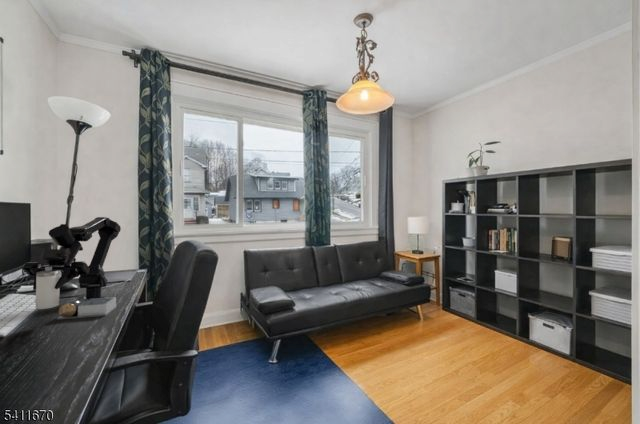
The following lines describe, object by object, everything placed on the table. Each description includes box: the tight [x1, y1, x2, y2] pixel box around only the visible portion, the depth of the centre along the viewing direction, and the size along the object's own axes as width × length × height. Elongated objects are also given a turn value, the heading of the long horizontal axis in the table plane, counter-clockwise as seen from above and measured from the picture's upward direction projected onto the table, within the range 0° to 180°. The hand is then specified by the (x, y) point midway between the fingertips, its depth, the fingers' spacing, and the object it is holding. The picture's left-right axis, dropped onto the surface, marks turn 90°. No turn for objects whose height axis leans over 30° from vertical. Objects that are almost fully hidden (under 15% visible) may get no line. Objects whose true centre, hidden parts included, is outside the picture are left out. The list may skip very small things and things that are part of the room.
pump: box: [35, 267, 61, 310], centre depth 97 cm, size 6×6×14 cm
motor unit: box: [56, 296, 117, 320], centre depth 109 cm, size 10×16×6 cm, turn 107°
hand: (45, 288), depth 96 cm, fingers closed on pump, 6 cm apart
